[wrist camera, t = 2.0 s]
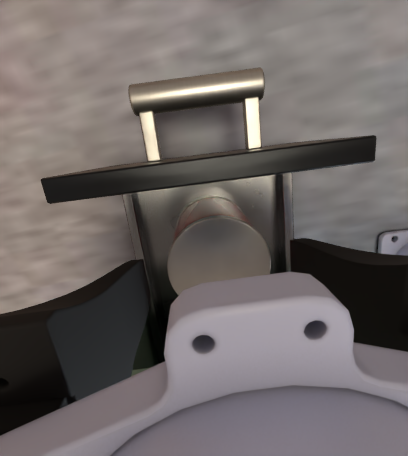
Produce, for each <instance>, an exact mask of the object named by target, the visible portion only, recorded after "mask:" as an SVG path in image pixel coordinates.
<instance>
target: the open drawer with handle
mask: <svg viewBox="0 0 408 456" xmlns="http://www.w3.org/2000/svg"><path fill="white" fill-rule="evenodd" d="M264 89H265V79H264V73H263V70H262V68H253V69H245V70H238V71H230V72H223V73H215V74H207V75H200V76H192V77H185V78H177V79H169V80H162V81H154V82H146V83H139V84H131V85H129V99H130V103H131V107H132V110H133V112H134V114H135V115H136V116H139V117H140V122H141V128H142V133H143V139H144V145H145V150H146V156H147V162H139V163H132V164H124V165H116V166H109V167H103V168H98V169H92V170H86V171H81V172H75V173H70V174H64V175H58V176H53V177H47V178H42V179H41V183H42V186H43V190H44V193H45V196H46V200H47V202H48V203H50V204H52V203H59V202H67V201H75V200H83V199H90V198H98V197H106V196H114V195H121V194H122V197H123V202H124V206H125V211H126V216H127V220H128V225H129V229H130V234H131V239H132V243H133V248H134V252H135V257H136V260H139V259H143V260H144V265H145V270H146V274H147V279H148V284H149V289H150V294H151V299H150V307H149V313H148V317H149V322H150V326H151V331H152V336H153V340H154V345H155V349H156V354H157V359H158V363H159V364H160V363H162V362H164V361H165V357H164V349H165V341H166V333H167V326H168V320H169V313H170V307H171V304H172V303H173V302H174V300H175V299H176V298H177V297H178V296H179V295H178V294H177V293H176V292H175V290H174V289H173V287H172V285H171V282H170V280H169V276H168V270H167V261H168V256H169V252H170V249H171V246H172V244H173V240H174V236H175V232H176V225H177V221H178V218H179V216H180V214H181V213H182V211H183V210H184V209H185V207H186V206H187V205H189V204H190V203H191V202H193V201H194V200H197V199H199V198H202V197H206V196H219V197H223V198H226V199H228V200H230V201H232V202H234V203H235V204H236V205H237V206H238V207H239V208H240V209H241V210H242V212H243V213H244V215H245V217H246V218H247V219H248V221H249V222H250V223H251V225H252V226H253V227H254V228H255V229H256V230H257V231H258V232H259V234H260V235H261V236H262V237H263V239H264V240H265V242H266V244H267V246H268V249H269V252H270V257H271V269H270V274H276V273H284V272H291V266H290V240H293V239H294V231H293V193H292V172H299V171H307V170H315V169H322V168H330V167H338V166H346V165H353V164H361V163H369V162H373V161H375V151H376V136H374V135H372V136H361V137H350V138H338V139H327V140H315V141H304V142H293V143H286V144H278V145H270V146H263V147H262V146H261V129H260V112H259V100H261V99H262V98H263V95H264ZM241 102H242V104H243V118H244V131H245V145H246V149H239V150H232V151H224V152H216V153H209V154H201V155H193V156H185V157H178V158H170V159H162V154H161V148H160V142H159V136H158V130H157V124H156V118H155V114H157V113H165V112H172V111H180V110H188V109H195V108H203V107H211V106H218V105H226V104H234V103H241Z"/></svg>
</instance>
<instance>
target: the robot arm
mask: <svg viewBox="0 0 408 456" xmlns="http://www.w3.org/2000/svg"><path fill="white" fill-rule="evenodd" d="M393 236H394V239H393V240H391V239H392V237H393ZM290 266H291V272H284V273H276V274H268V275H260V276H253V277H245V278H237V279H229V280H222V281H214V282H206V283H201V284H198V285H196V286H193V287H190V288H188V289H185V290H183V291H182V292H181V293H180V294H179V296H178V297H177V298H176V299H175V300H174V302H173V303H172V304H171V307H170V313H169V320H168V326H167V333H166V341H165V349H164V357H165V361H164V362H162V363H160V364H158V365H155V366H153V367H151V368H149V369H147V370H144V371H142V372H140V373H138V374H136V375H133V376H131V374H132V369H133V364H134V359H135V355H136V351H137V348H138V345H139V342H140V339H141V335H142V332H143V329H144V326H145V323H146V319H147V316H148V313H149V307H150V299H151V294H150V289H149V284H148V279H147V274H146V270H145V265H144V260H143V259H139V260H131V261H128V262H126V263H124V264H122V265H121V266H119V267H117V268H116V269H114V270H112V271H111V272H109V273H107V274H106V275H104V276H102V277H101V278H99V279H97V280H95V281H94V282H92V283H90V284H88V285H86V286H84V287H82V288H80V289H78V290H76V291H73V292H71V293H69V294H67V295H64V296H61V297H58V298H56V299H53V300H50V301H48V302H45V303H42V304H38V305H35V306H32V307H28V308H25V309H21V310H17V311H13V312H9V313H4V314H0V456H408V230H400V231H392V232H385V233H383V234H381V235H380V237H379V244H378V253H373V252H366V251H360V250H355V249H350V248H345V247H341V246H336V245H332V244H328V243H324V242H320V241H316V240H312V239H306V238H301V239H293V240H290Z"/></svg>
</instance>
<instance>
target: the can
mask: <svg viewBox="0 0 408 456" xmlns="http://www.w3.org/2000/svg"><path fill="white" fill-rule="evenodd" d="M270 269H271V257H270V252H269V249H268V246H267V244H266V242H265V240H264V239H263V237H262V236H261V235H260V234H259V232H258V231H257V230H256V229H255V228H254V227H253V226H252V225H251V223H250V222H249V221H248V219H247V218H246V217H245V215H244V213H243V212H242V210H241V209H240V208H239V207H238V206H237V205H236V204H235V203H234V202H232V201H230V200H228V199H226V198H223V197H219V196H206V197H202V198H199V199H197V200H194V201H193V202H191V203H190V204H189V205H187V206H186V207H185V209H184V210H183V211H182V213H181V214H180V216H179V218H178V221H177V225H176V232H175V236H174V240H173V244H172V246H171V249H170V252H169V256H168V261H167V270H168V276H169V280H170V282H171V285H172V287H173V289H174V290H175V292H176V293H177V294H178V295H179V294H180V293H181V292H182V291H183V290H185V289H188V288H190V287H193V286H196V285H198V284H201V283H206V282H214V281H222V280H229V279H237V278H245V277H253V276H260V275H268V274H270Z"/></svg>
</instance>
